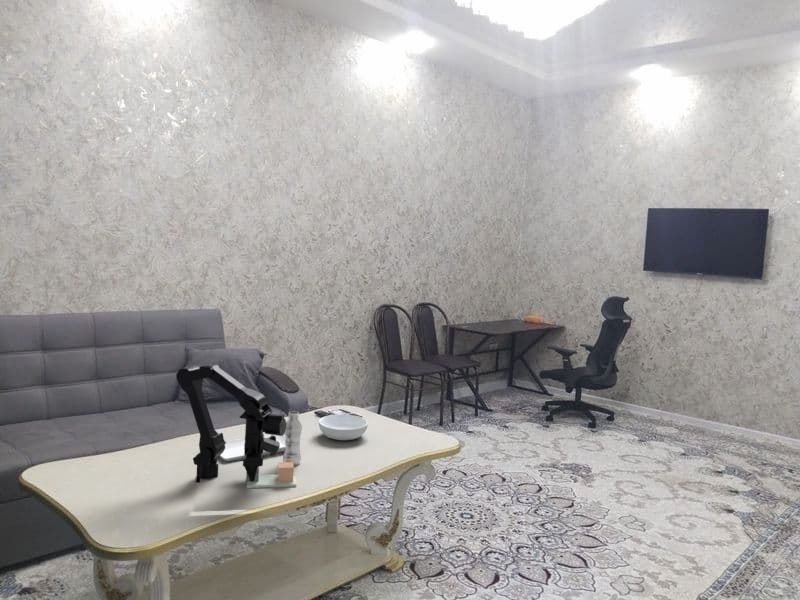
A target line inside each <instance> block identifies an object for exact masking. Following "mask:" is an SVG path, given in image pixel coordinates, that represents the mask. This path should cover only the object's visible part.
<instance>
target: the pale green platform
mask: <svg viewBox="0 0 800 600" xmlns="http://www.w3.org/2000/svg"><path fill="white" fill-rule="evenodd" d="M245 476H246V480H245V482H246V488H247V489H256V488H257V489H261V488H263V489H264V488H290V487H292V488H293V487H297V480H296V479H297V478H296V473H293V482H278V473H276V474H274V473H273V474H272V473H271V474H260V466H259V467H258V468H257V472H256V475H255V479H254V481H252V482H251V481H250V479H249V476H248V474H247V471H246V475H245Z"/></svg>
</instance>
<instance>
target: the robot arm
mask: <svg viewBox="0 0 800 600" xmlns="http://www.w3.org/2000/svg"><path fill="white" fill-rule="evenodd" d="M175 378H176V381H177V383H178V385H179V387H180V389H181V390H182V391H183V392H184V393H185V394H186V395H187V398H188V401H189V405H190V407H191V411H192V413H193V417H194V420H195V423H196V426H197V429H198V432H199V442H198V448H199V452H198V453H197V454H196V455H195V456H194V457H193V458H192V460H193V461H192V462H193V464H194V465H195V466H196V478H195V483H200V482H201V480H211V479H215V478H218V477H219V466H220V465H219V463H218V459H220V458H221V457H220V455H221V454H222V453H223V452H224V450H225V444H226V442H225V441H226V440H225V438H224V434H223V432H220V433H218V432H217V431H216V430H215V427H214V424H213V420H212V417H211V415H210V412H209V409H208V404H207V402H206V399H205V395H204V393H203V385H204V379H210V380H211V381H212V382H214V383H215V384H216V385H217V386H219V387H220V388H221V389H222V390H224V391H225V392H227V393H228V394H229V395H231V396H232V397H234V399H236V401H237V402H238V405H239V406H240V407H241V409H242V410H244V412H243V413H242V414H241V415H239V419H245V426H244V427H245V429H244V433H245V435H244V438H245V444H244V450H245V451H244V455H245V456H244V457H243V460H242V467H244V470H245V471H246V472H247V474H248V476H249V479H250V481H251V482H252V481H254V479H255V475H256V472H257V468H258V467H259V468H260V467H263V465H264V455H263V456H262V455H261V454H262V453H263V450H264V451H266V452H269V453H272V455H274V456H276V455H277V454H278V453H279V452H278V449H279V447H280V443H279V442H278V441H276V436H273V435H278V436H283V435H284V436H285V431H286V426H287V423H286V422H287V421H286V418H285V414H281V413H279V414H276V413H273V410H272V409H271V407H270V405H269V404H268V402H267V397H266V396H265V395H264V394H263V393H261V392H259V391H257V390H255V389H252V388H248V387H246V386H245V385H243V384H242V383H240V382H239V381H238V380H237V379H236V378H233V377H232V376H231V375H230V374H228V373H227V372H226V371H224V370H223V369H222V368H220V366H219V365H218V364H214V363H213V364H209V365H201V366H198V365H194V364H192V365H191V364H190V365H188V366H185V367H182V368H181V369H179V370H178V371H177V372H176V375H175ZM264 434H270V435H271V436H270V437H269V438H264ZM277 452H278V453H277Z"/></svg>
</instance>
